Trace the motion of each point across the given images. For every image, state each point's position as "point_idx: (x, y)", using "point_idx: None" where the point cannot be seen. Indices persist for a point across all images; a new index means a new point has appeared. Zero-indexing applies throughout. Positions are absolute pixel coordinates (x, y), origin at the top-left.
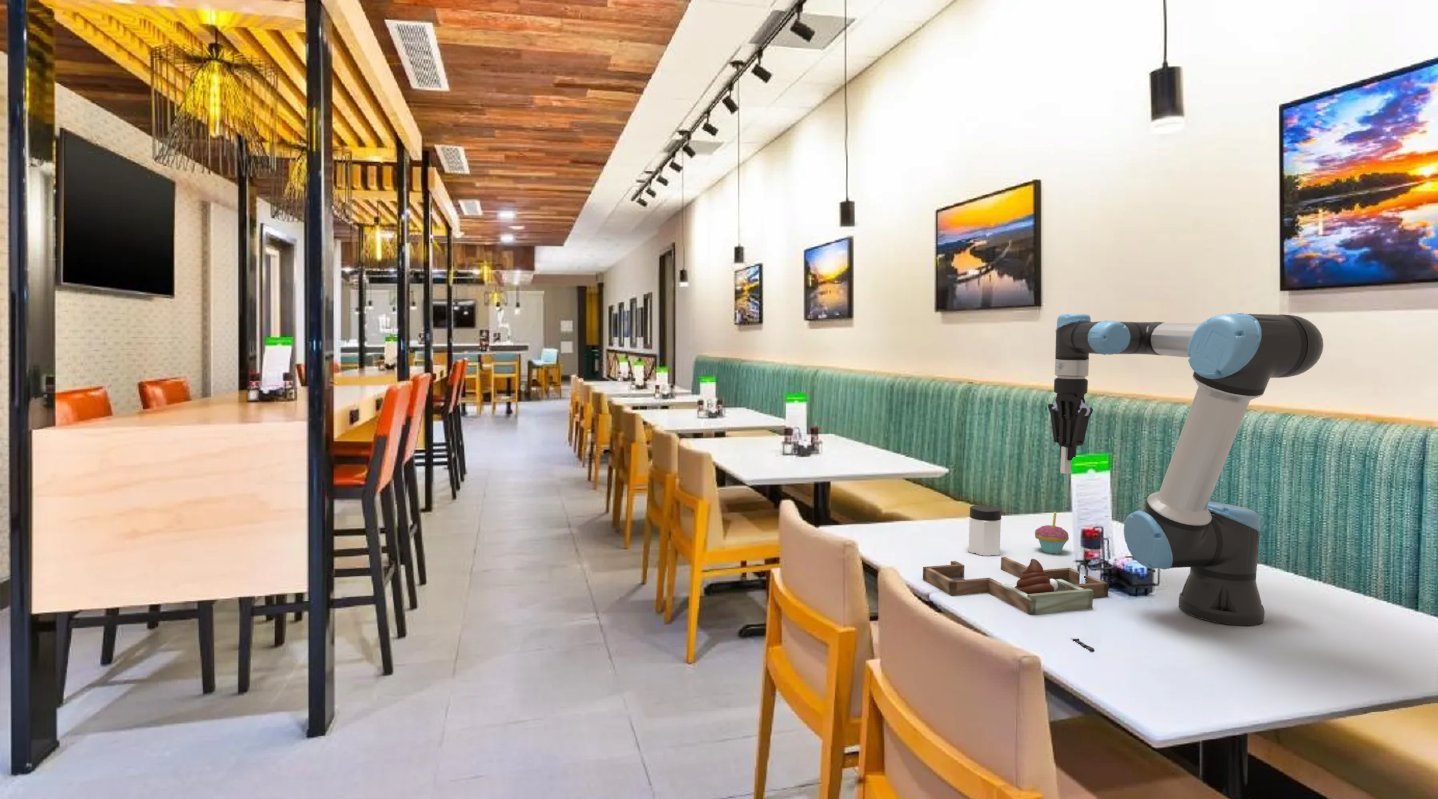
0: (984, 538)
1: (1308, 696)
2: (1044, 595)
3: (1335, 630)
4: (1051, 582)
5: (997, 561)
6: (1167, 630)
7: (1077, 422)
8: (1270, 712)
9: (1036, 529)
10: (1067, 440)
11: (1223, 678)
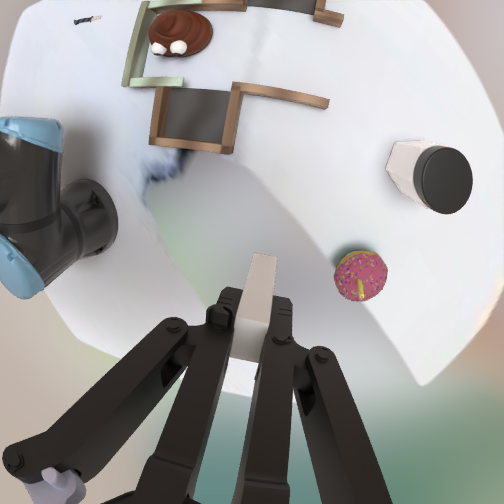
0: (406, 144)
1: None
2: (137, 17)
3: None
4: (153, 43)
5: (362, 135)
6: (72, 120)
7: (91, 417)
8: (4, 83)
9: (386, 270)
10: (219, 346)
11: (23, 89)
